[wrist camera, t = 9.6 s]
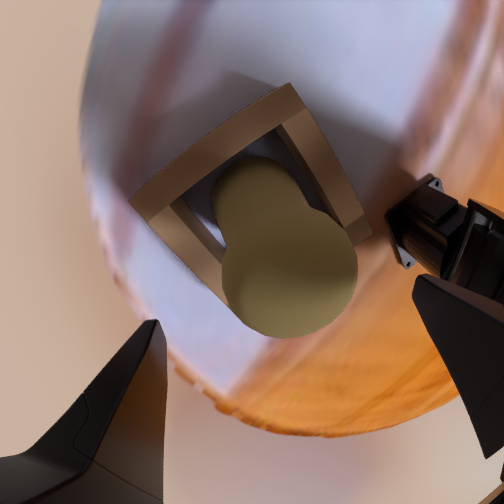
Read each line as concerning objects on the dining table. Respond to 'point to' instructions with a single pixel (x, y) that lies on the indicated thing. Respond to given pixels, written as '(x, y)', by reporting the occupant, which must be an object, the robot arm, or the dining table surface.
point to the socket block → (224, 147)
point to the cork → (280, 252)
